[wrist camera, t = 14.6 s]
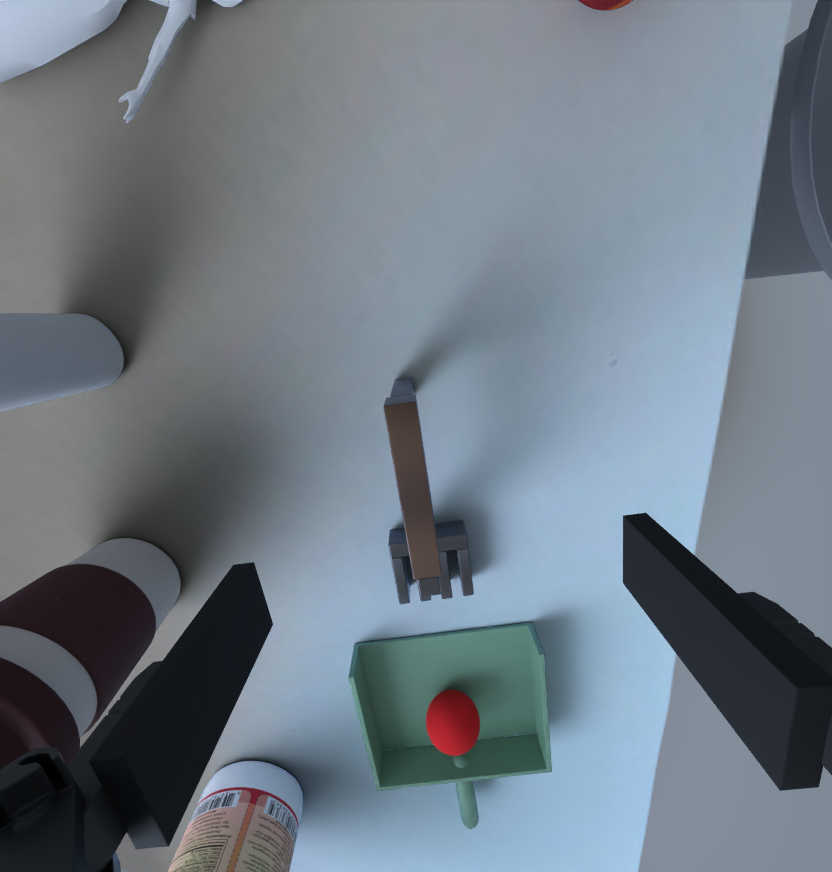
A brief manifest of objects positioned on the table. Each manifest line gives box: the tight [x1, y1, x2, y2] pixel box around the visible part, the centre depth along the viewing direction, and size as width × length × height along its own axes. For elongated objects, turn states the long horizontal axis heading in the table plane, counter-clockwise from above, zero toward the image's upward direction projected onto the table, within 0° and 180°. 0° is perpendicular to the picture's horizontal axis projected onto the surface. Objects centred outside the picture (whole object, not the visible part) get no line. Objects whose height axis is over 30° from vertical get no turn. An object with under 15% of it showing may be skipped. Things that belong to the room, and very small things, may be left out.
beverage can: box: [0, 313, 124, 412], centre depth 21 cm, size 5×5×12 cm
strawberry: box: [426, 690, 480, 756], centre depth 33 cm, size 4×4×4 cm
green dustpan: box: [349, 622, 552, 829], centre depth 34 cm, size 20×15×3 cm
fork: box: [384, 377, 474, 604], centre depth 26 cm, size 16×6×8 cm, turn 8°
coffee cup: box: [0, 538, 181, 770], centre depth 24 cm, size 10×10×15 cm
